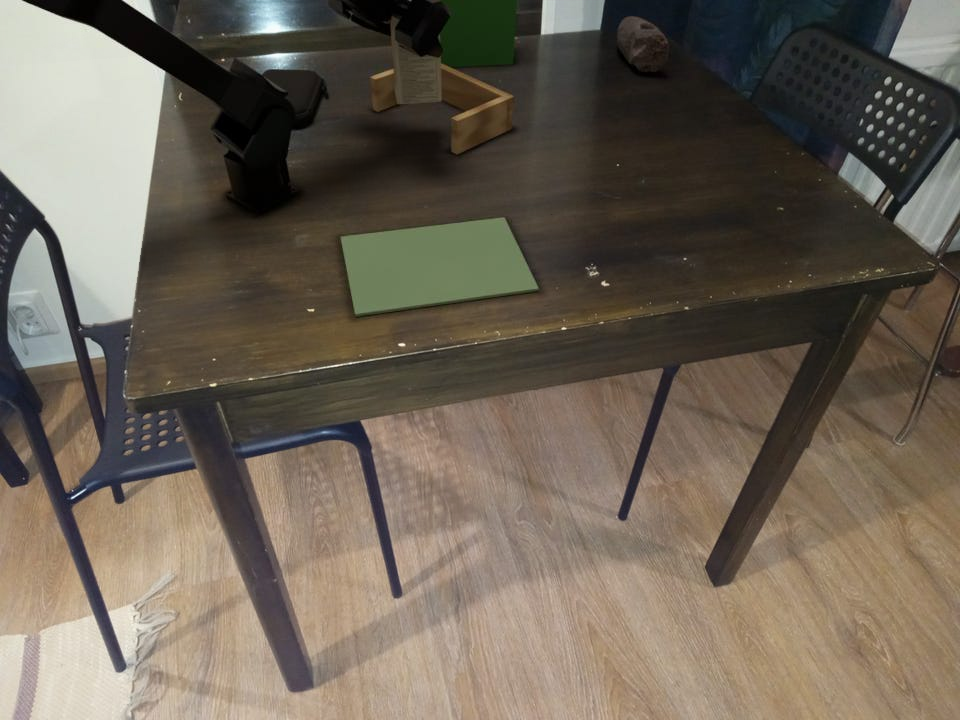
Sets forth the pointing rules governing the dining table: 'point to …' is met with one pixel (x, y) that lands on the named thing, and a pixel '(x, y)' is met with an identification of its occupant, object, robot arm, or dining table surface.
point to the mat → (434, 266)
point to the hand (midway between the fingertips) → (424, 46)
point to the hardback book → (479, 33)
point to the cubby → (458, 106)
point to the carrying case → (298, 89)
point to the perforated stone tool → (642, 44)
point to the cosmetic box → (415, 74)
